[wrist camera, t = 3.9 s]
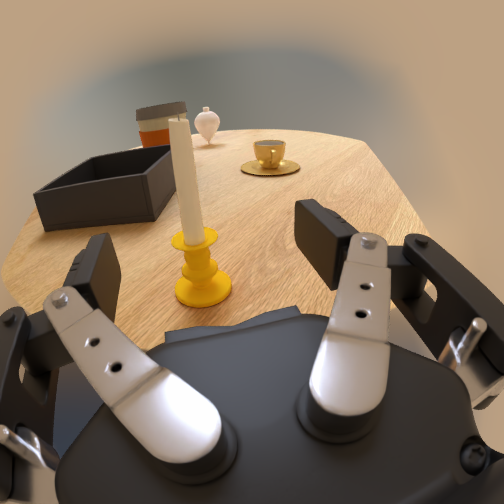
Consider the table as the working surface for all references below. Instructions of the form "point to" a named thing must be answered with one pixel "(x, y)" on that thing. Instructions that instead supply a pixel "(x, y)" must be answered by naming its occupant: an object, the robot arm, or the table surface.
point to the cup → (269, 159)
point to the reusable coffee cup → (158, 122)
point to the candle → (193, 228)
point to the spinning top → (207, 124)
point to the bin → (109, 190)
